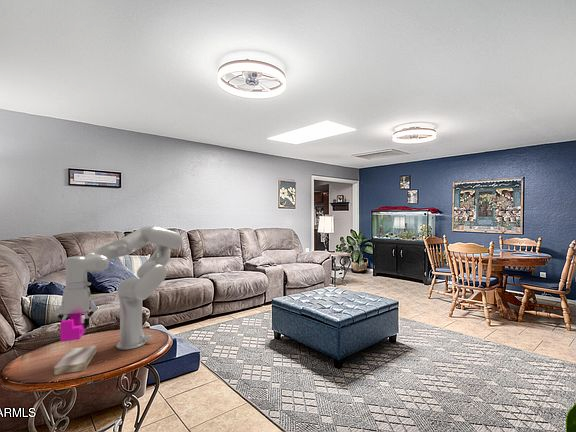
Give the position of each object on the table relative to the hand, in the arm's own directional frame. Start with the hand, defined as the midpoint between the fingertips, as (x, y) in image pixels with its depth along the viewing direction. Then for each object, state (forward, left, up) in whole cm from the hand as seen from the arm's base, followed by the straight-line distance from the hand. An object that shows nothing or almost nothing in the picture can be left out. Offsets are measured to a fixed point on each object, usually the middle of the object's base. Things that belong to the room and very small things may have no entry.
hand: (76, 328), depth 131 cm
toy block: (0, +2, -2) cm, 3 cm away
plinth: (0, 0, -14) cm, 14 cm away
